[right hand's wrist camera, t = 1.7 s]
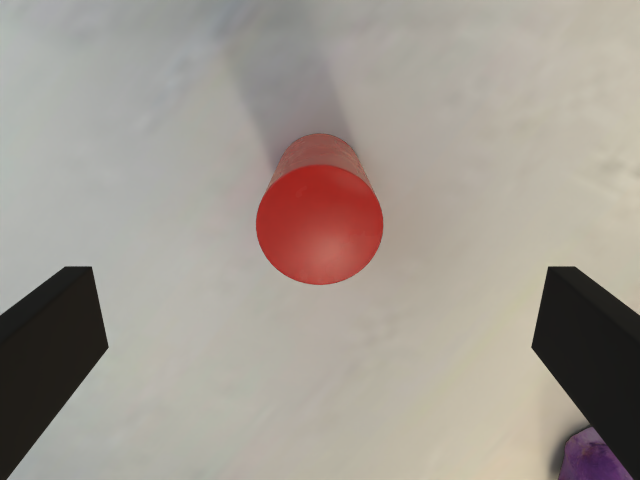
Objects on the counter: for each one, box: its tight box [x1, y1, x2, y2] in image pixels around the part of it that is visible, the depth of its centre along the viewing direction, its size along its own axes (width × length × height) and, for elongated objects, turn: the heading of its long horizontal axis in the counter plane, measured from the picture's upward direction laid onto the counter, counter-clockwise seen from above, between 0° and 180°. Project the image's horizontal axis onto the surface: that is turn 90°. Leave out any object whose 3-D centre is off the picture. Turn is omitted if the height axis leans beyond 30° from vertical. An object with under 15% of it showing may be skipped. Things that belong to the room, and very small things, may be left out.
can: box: [256, 134, 383, 285], centre depth 25 cm, size 6×6×11 cm
